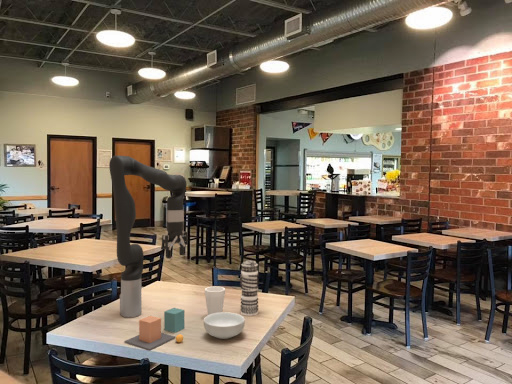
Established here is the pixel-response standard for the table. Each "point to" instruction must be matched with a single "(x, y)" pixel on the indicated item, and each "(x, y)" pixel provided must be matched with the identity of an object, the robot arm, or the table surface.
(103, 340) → the table surface
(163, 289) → the table surface
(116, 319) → the table surface
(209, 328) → the cereal bowl
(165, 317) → the seafoam square box
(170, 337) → the charcoal mat
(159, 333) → the salmon pink cube
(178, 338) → the orange ball
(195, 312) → the table surface
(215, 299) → the foam cup
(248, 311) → the decorative candle
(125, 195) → the robot arm
